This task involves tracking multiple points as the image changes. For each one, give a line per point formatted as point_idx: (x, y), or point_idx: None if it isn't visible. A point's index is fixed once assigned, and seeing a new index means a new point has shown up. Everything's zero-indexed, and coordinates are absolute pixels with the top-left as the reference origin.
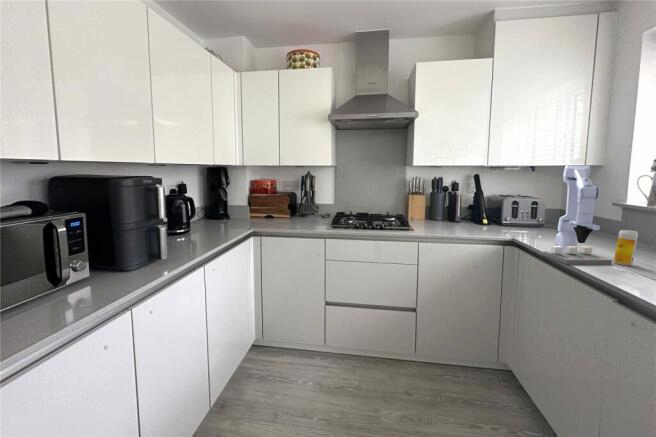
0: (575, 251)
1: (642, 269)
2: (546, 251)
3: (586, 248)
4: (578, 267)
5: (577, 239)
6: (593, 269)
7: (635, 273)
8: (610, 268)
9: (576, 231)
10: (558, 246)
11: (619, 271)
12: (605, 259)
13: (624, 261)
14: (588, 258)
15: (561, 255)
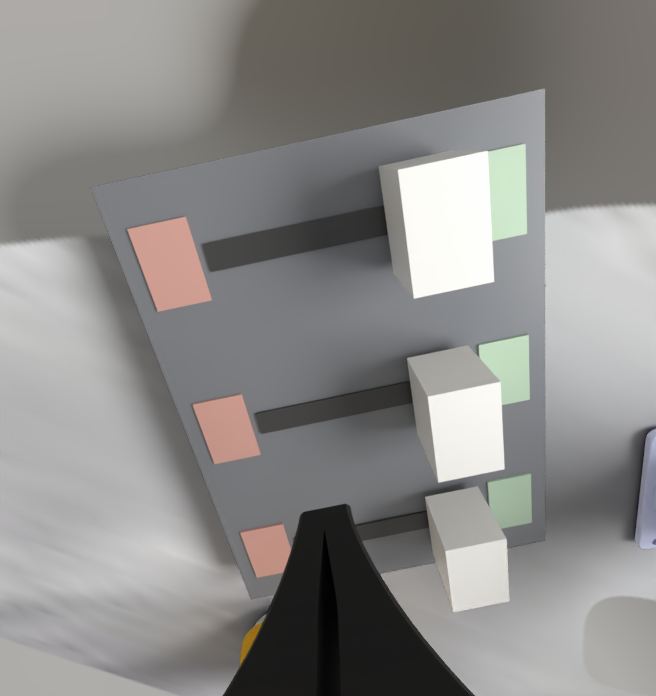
0: (421, 434)
1: (176, 667)
2: (540, 138)
3: (444, 556)
4: (21, 254)
5: (354, 533)
6: (4, 363)
7: (28, 592)
8: (116, 509)
9: (383, 674)
10: (465, 259)
11: (38, 526)
12: (255, 567)
13: (244, 653)
14: (249, 455)
15: (323, 232)
